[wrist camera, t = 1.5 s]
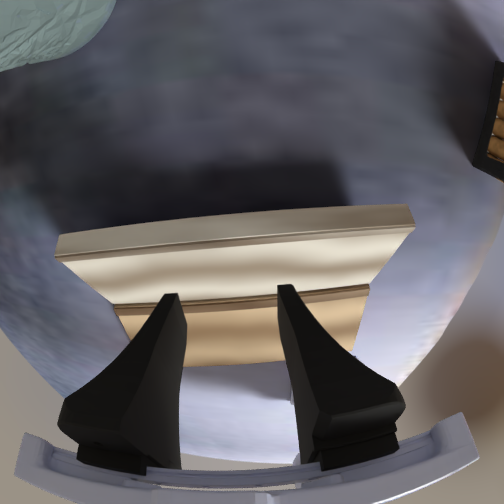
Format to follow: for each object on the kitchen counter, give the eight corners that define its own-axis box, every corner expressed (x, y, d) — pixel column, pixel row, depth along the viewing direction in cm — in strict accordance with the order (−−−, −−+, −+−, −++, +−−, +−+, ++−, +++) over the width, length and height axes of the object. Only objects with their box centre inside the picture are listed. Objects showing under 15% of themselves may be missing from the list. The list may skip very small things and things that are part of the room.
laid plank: (348, 340, 30) (352, 352, 28) (147, 355, 29) (145, 368, 28) (363, 275, 25) (370, 287, 23) (118, 295, 24) (113, 308, 23)
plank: (365, 267, 24) (370, 284, 23) (114, 287, 24) (113, 305, 23) (407, 203, 16) (416, 226, 15) (59, 234, 16) (53, 257, 15)
